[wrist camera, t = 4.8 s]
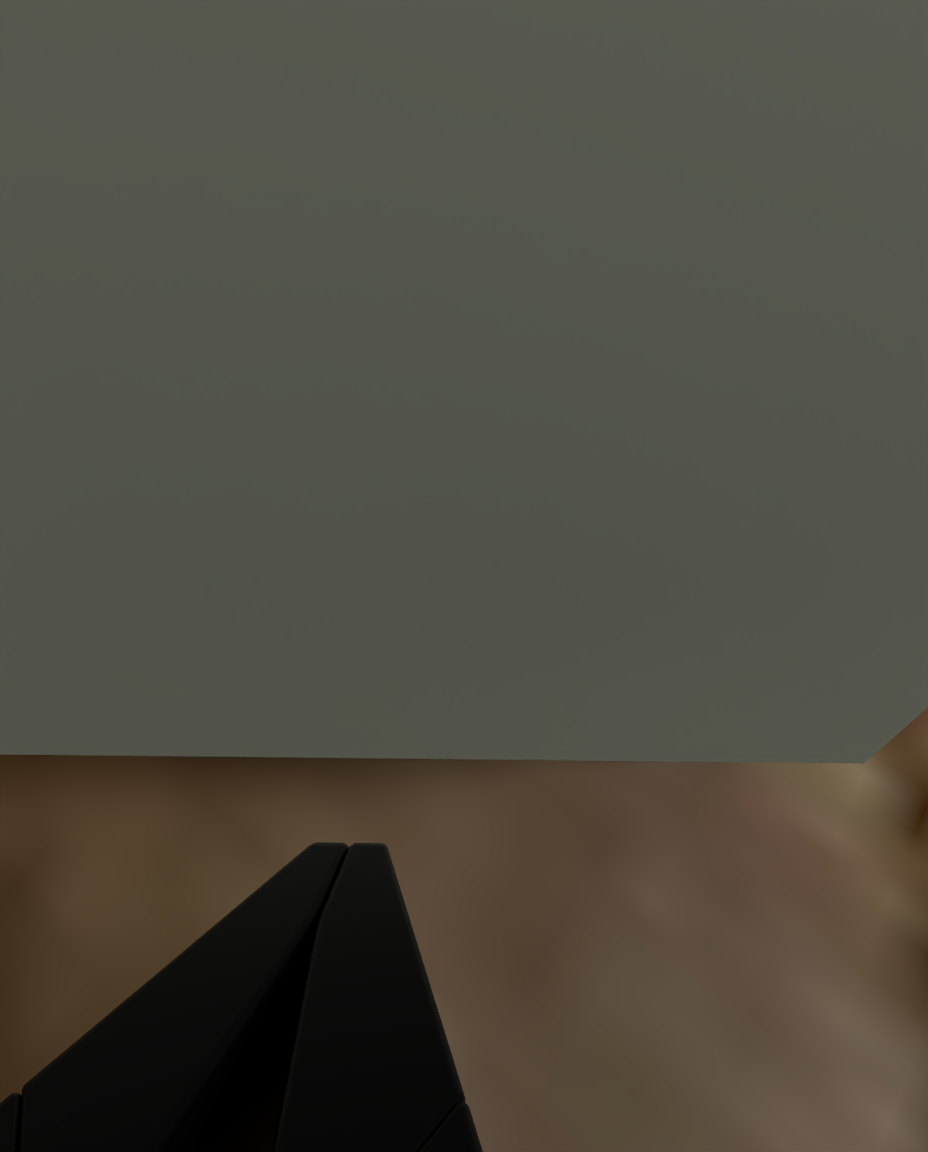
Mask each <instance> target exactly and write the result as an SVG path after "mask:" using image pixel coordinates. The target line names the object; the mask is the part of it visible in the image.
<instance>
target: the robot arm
mask: <svg viewBox="0 0 928 1152" xmlns="http://www.w3.org/2000/svg"><path fill="white" fill-rule="evenodd" d="M0 1152H483V1151H482V1148H481V1144H480V1141H479V1138H478V1135H477V1131H476V1128H475V1125H474V1122H473V1118H472V1115H471V1112H470V1109H469V1106H468V1105H467V1104H466V1103H465V1096H464V1093H463V1089H462V1086H461V1083H460V1080H459V1077H458V1073H457V1070H456V1067H455V1064H454V1060H453V1057H452V1054H451V1051H450V1048H449V1044H448V1041H447V1038H446V1035H445V1031H444V1028H443V1025H442V1022H441V1019H440V1015H439V1012H438V1009H437V1006H436V1002H435V999H434V996H433V993H432V990H431V986H430V983H429V980H428V977H427V973H426V970H425V967H424V964H423V961H422V957H421V954H420V951H419V948H418V944H417V941H416V938H415V935H414V932H413V928H412V925H411V922H410V919H409V915H408V912H407V909H406V906H405V903H404V899H403V896H402V893H401V890H400V886H399V883H398V880H397V877H396V873H395V870H394V867H393V864H392V861H391V857H390V854H389V851H388V848H387V846H386V845H384V844H382V843H354V844H353V845H351V846H350V847H348V845H346V844H345V843H314V844H312V845H310V846H308V847H307V848H306V849H305V850H304V851H302V852H301V853H300V854H299V855H298V856H297V857H295V858H294V859H293V860H292V861H291V862H289V863H288V864H287V865H286V866H285V867H283V868H282V869H281V870H280V871H279V872H277V873H276V874H275V875H274V876H273V877H272V878H270V879H269V880H268V881H267V882H266V883H264V884H263V885H262V886H261V887H260V888H258V889H257V890H256V891H255V892H254V893H252V894H251V895H250V896H249V897H248V898H247V899H245V900H244V901H243V902H242V903H241V904H239V905H238V906H237V907H236V908H235V909H233V910H232V911H231V912H230V913H229V914H227V915H226V916H225V917H224V918H223V919H222V920H220V921H219V922H218V923H217V924H216V925H214V926H213V927H212V928H211V929H210V930H208V931H207V932H206V933H205V934H204V935H202V936H201V937H200V938H199V939H198V940H196V941H195V942H194V943H193V944H192V945H191V946H189V947H188V948H187V949H186V950H185V951H183V952H182V953H181V954H180V955H179V956H177V957H176V958H175V959H174V960H173V961H171V962H170V963H169V964H168V965H167V966H166V967H164V968H163V969H162V970H161V971H160V972H158V973H157V974H156V975H155V976H154V977H152V978H151V979H150V980H149V981H148V982H146V983H145V984H144V985H143V986H142V987H141V988H139V989H138V990H137V991H136V992H135V993H133V994H132V995H131V996H130V997H129V998H127V999H126V1000H125V1001H124V1002H123V1003H121V1004H120V1005H119V1006H118V1007H117V1008H116V1009H114V1010H113V1011H112V1012H111V1013H110V1014H108V1015H107V1016H106V1017H105V1018H104V1019H102V1020H101V1021H100V1022H99V1023H98V1024H96V1025H95V1026H94V1027H93V1028H92V1029H91V1030H89V1031H88V1032H87V1033H86V1034H85V1035H83V1036H82V1037H81V1038H80V1039H79V1040H77V1041H76V1042H75V1043H74V1044H73V1045H71V1046H70V1047H69V1048H68V1049H67V1050H66V1051H64V1052H63V1053H62V1054H61V1055H60V1056H58V1057H57V1058H56V1059H55V1060H54V1061H52V1062H51V1063H50V1064H49V1065H48V1066H46V1067H45V1068H44V1069H43V1070H42V1071H40V1072H39V1073H38V1074H37V1075H36V1076H35V1077H33V1078H32V1079H31V1080H30V1081H29V1082H27V1083H26V1084H25V1085H24V1087H23V1089H22V1095H20V1094H19V1093H13V1094H11V1095H10V1096H8V1097H7V1098H6V1099H5V1100H4V1101H2V1102H1V1103H0Z"/></svg>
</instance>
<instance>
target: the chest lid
mask: <svg viewBox="0 0 928 1152" xmlns="http://www.w3.org/2000/svg"><path fill="white" fill-rule="evenodd" d="M926 708H928V0H0V754H9V755H106V756H203V757H299V758H396V759H493V760H590V761H687V762H784V763H865V762H866V761H867V760H868V759H869V758H870V757H872V756H873V755H874V754H875V753H876V752H877V751H878V750H880V749H881V748H882V747H883V746H884V745H885V744H886V743H888V742H889V741H890V740H891V739H892V738H893V737H894V736H896V735H897V734H898V733H899V732H900V731H901V730H902V729H904V728H905V727H906V726H907V725H908V724H909V723H910V722H912V721H913V720H914V719H915V718H916V717H917V716H918V715H920V714H921V713H922V712H923V711H924V710H925V709H926Z"/></svg>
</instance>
